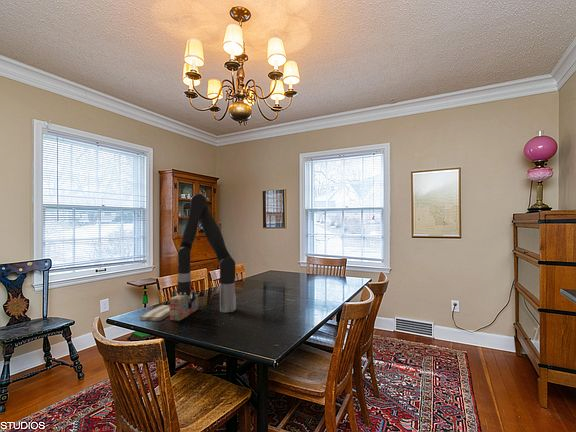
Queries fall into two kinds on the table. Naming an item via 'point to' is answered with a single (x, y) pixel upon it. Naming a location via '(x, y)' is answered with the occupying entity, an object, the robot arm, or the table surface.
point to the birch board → (157, 313)
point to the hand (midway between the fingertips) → (184, 308)
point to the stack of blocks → (181, 307)
